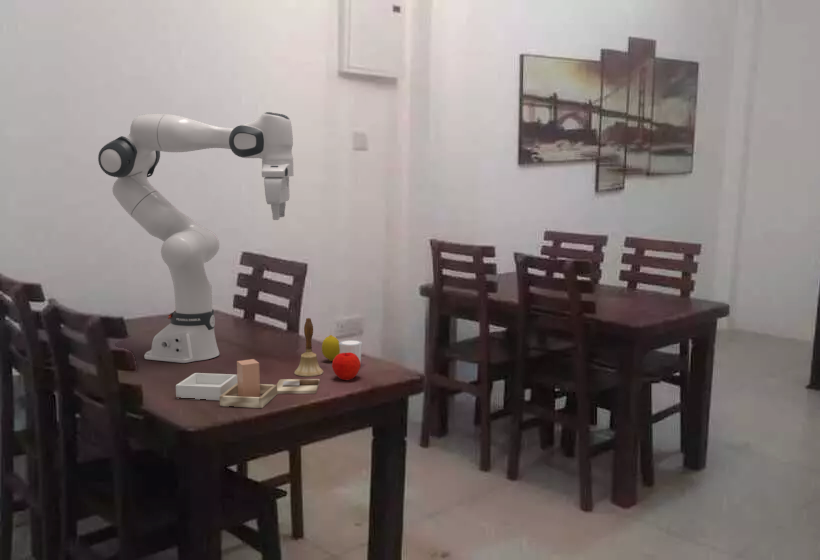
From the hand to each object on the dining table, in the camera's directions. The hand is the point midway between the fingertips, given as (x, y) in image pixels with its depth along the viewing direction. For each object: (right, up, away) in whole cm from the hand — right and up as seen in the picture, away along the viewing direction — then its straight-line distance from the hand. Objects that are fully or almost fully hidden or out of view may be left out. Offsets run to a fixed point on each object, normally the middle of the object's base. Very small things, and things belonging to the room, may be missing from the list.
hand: (278, 218), depth 241 cm
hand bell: (+9, -45, -2) cm, 45 cm away
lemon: (+14, -42, +11) cm, 46 cm away
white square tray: (-15, -47, -22) cm, 54 cm away
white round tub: (+20, -43, +6) cm, 48 cm away
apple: (+20, -45, -8) cm, 50 cm away
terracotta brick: (-3, -48, -28) cm, 56 cm away
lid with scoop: (+8, -47, -17) cm, 50 cm away
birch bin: (-3, -48, -28) cm, 56 cm away
